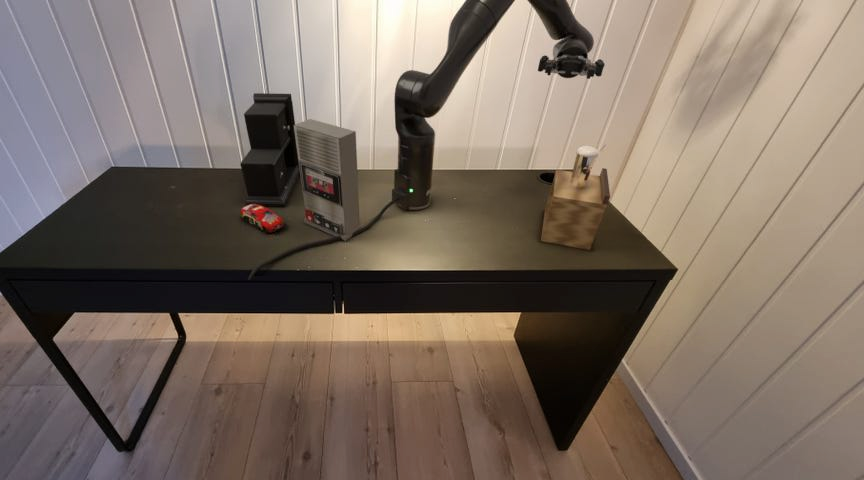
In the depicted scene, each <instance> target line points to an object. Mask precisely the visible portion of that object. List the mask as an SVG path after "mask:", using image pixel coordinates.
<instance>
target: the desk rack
mask: <svg viewBox="0 0 864 480" xmlns="http://www.w3.org/2000/svg"><path fill="white" fill-rule="evenodd" d="M572 172H573V171H569V170H562V169H556V170H555V173H554V177H553V179H552V183H551V186H550V187H551V188H550V190H549V194H548V198H547V202H546V204H545V205H546V206H545V209H544V212H543V213H544V215H543V222H542V228H541V229H542V230H541V238H540V241H541V242H544V243H550V244H556V245H561V246H565V247H566V246H567V247H571V248H577V249H581V250H588V251H591V248H592V246H593V243H594V241H595V238H596V236H597V233H598V230H599V228H600V225H601V222H602V220H603V217H604V214H605V211H606V210H607V206H608V204H609V201H610V198H611V192H610V184H609V175H608V169H607V168H604V167H602V168H601V171H600V174H599V175H598V174H597V175H596V174H591V173H590V174H589V177H588V179H587V182H586V184H585V186H584V188H574V187H572V186H571V185H570V181H571V177H572Z"/></svg>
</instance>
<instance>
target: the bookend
mask: <svg viewBox="0 0 864 480" xmlns="http://www.w3.org/2000/svg"><path fill="white" fill-rule="evenodd" d="M252 97H253V104H251V105H250V107H248V108H247V110H246V111H245V112H243V117H244V122H245V129H246V132H247V136H248V142H249V146H250V150H249V151H248V152H247V154H246V155H244V158H243V159H242V160H241V161H240V163H239V165H240V169H241V172H242V177H243V181H244V185H245V190H246V194H247V196H246V198H245V203H246V206H247V205H250V204H258V205H261V206H263V207H285V206H286V204H287V202H288V200H289V197H290V195H291V194H292V191H293V189H294V188H295V185H296V182H297V181H298V178H299V176H300V168H299V161H298V154H297V147H296V139H295V132H294V125H295V124H296V121H295V120H296V119H295V112H294V105H293V99H292V93H270V92H269V93H265V92H264V93H262V92H259V93H255V92H254V93H253V96H252ZM294 181H295V182H294Z"/></svg>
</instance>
